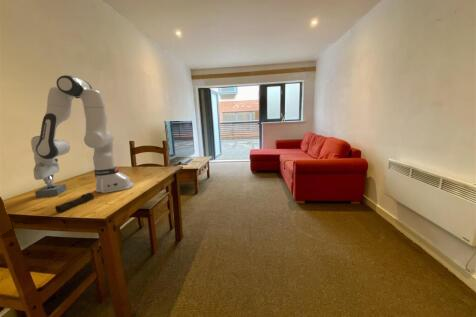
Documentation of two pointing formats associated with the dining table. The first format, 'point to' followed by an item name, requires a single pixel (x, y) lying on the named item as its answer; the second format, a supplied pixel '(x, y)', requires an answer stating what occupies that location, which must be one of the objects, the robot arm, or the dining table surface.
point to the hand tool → (74, 202)
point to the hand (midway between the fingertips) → (49, 182)
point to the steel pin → (50, 183)
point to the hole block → (50, 191)
